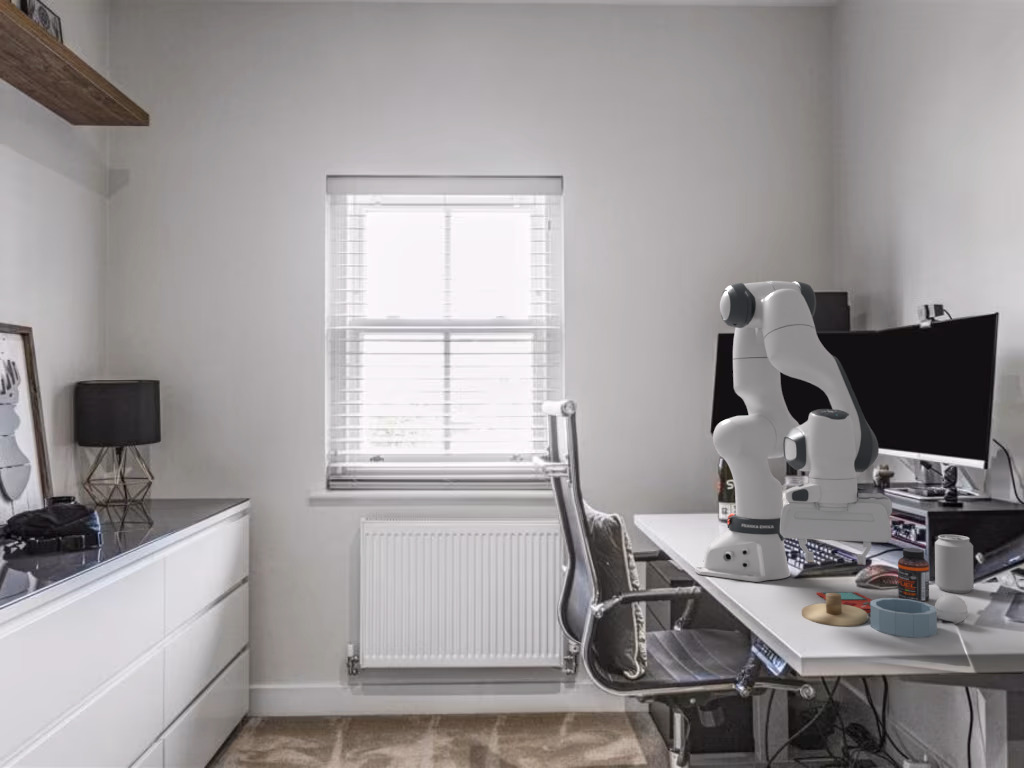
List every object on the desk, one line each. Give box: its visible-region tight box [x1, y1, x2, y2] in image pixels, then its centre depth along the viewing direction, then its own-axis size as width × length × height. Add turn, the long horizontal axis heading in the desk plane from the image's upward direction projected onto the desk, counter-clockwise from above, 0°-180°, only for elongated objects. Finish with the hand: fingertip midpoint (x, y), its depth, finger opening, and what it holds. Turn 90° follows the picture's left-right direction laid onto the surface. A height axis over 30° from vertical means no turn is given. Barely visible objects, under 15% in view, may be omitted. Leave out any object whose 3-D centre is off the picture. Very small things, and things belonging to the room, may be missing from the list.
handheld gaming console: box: [815, 591, 873, 614], centre depth 166 cm, size 9×1×15 cm
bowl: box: [870, 597, 938, 639], centre depth 149 cm, size 11×11×5 cm
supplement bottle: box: [897, 547, 930, 603], centre depth 168 cm, size 6×6×11 cm
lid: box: [801, 593, 869, 627], centre depth 156 cm, size 12×12×4 cm
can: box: [934, 534, 975, 594], centre depth 179 cm, size 8×8×12 cm
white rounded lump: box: [934, 593, 969, 625], centre depth 153 cm, size 8×6×6 cm
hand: (835, 562), depth 156 cm, fingers open, 8 cm apart
